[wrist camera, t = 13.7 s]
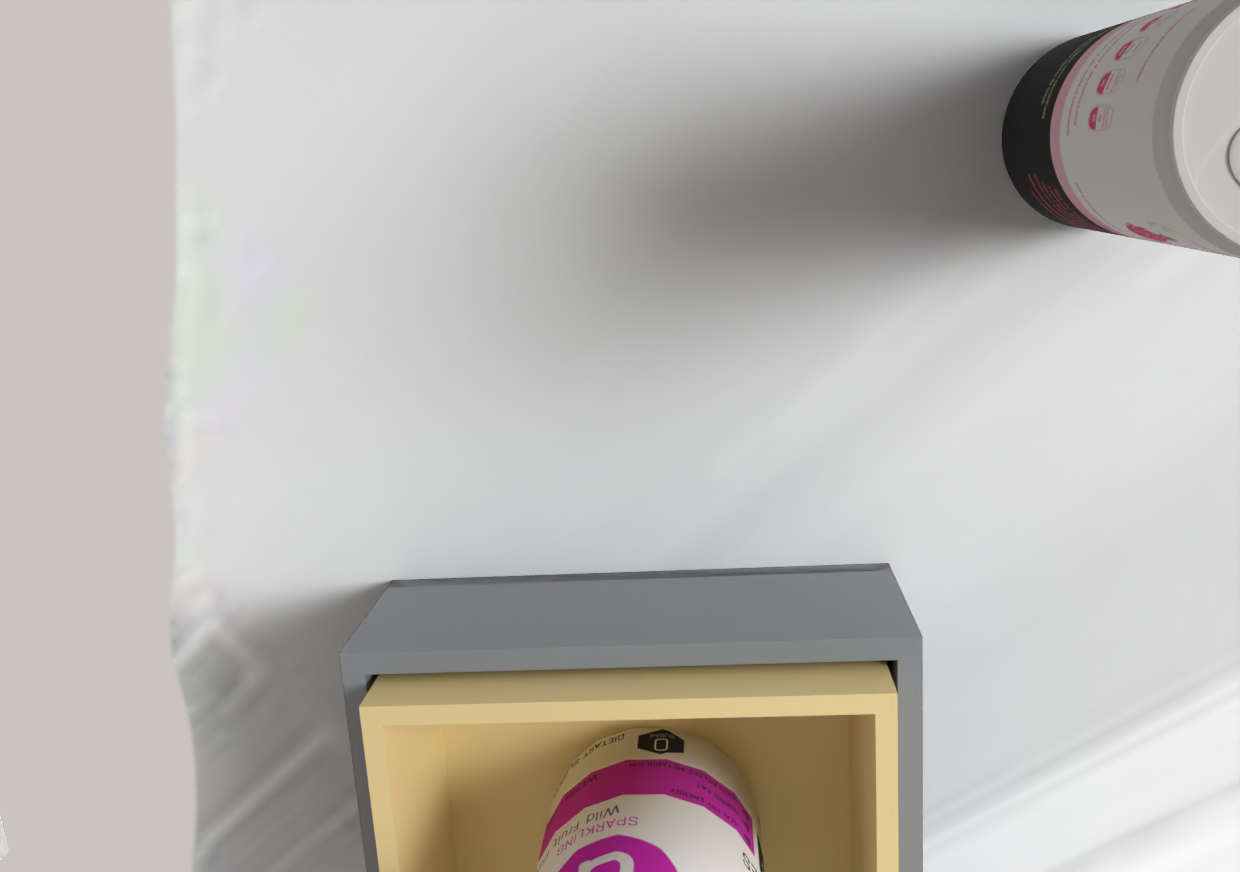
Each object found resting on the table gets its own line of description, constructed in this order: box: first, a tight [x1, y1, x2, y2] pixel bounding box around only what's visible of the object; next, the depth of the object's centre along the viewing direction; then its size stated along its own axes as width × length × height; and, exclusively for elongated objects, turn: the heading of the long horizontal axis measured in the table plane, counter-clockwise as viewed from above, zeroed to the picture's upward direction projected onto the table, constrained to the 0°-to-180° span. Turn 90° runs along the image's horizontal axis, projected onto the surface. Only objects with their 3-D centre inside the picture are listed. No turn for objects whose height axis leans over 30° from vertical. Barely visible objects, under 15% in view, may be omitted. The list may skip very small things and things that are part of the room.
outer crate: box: [339, 563, 923, 872], centre depth 44 cm, size 20×20×7 cm
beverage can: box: [1002, 0, 1240, 258], centre depth 33 cm, size 7×7×15 cm
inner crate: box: [359, 660, 899, 872], centre depth 43 cm, size 17×17×8 cm
